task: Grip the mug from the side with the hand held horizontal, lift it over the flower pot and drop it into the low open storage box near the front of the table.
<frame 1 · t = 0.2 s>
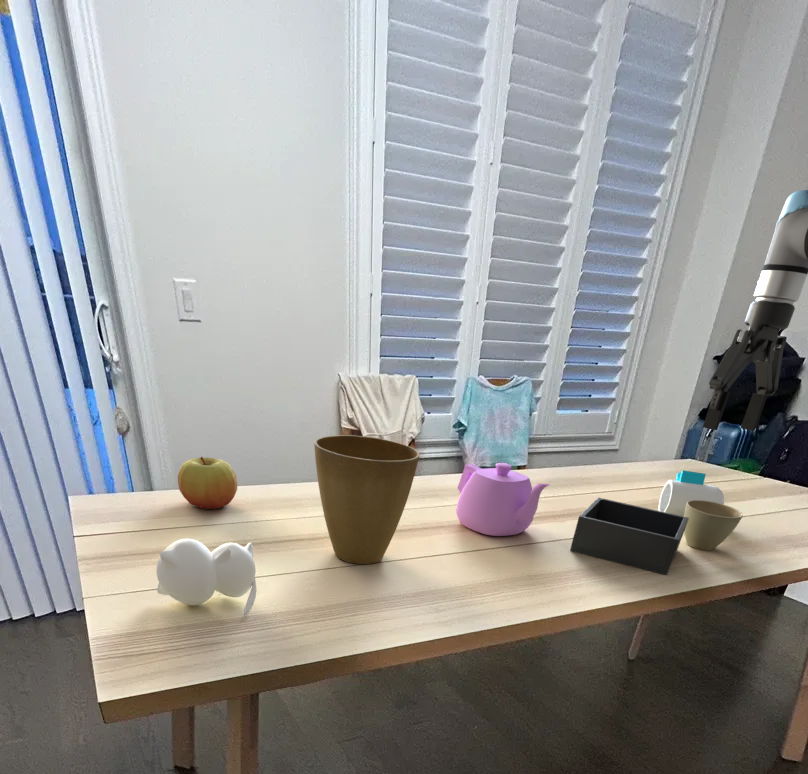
hand: (729, 429, 126), 18 cm above the table, tool pointing down, fingers open, 13 cm apart
teapot: (494, 529, 117), on the table
mug: (684, 516, 138), on the table
apple: (209, 506, 110), on the table
flower pot: (699, 546, 121), on the table
cat figurine: (212, 604, 80), on the table
open storage box: (625, 550, 114), on the table
plant pot: (360, 556, 98), on the table
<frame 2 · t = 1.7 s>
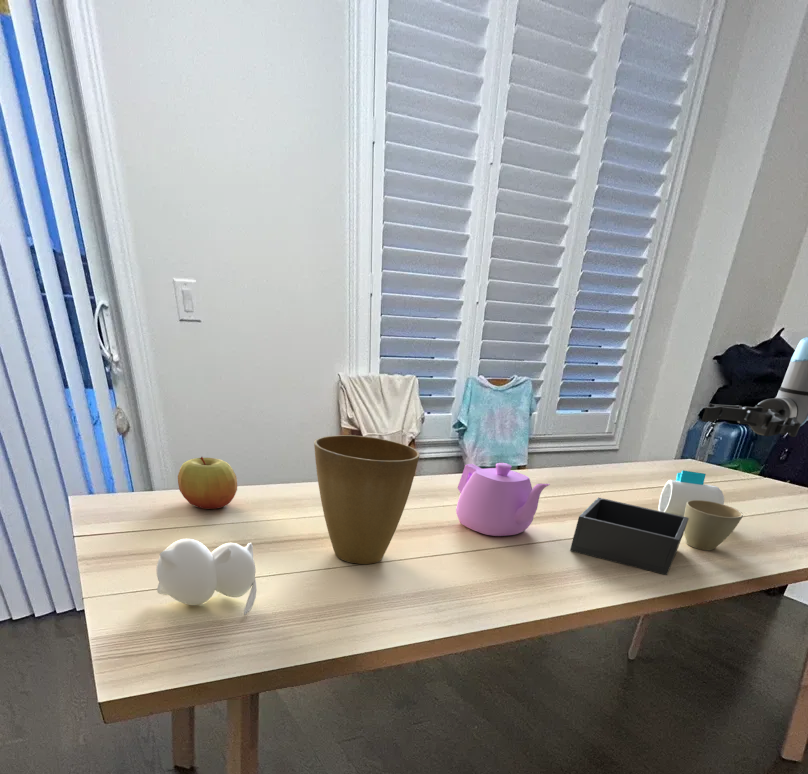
hand: (735, 421, 133), 19 cm above the table, tool horizontal, fingers open, 13 cm apart
nothing on the table moved.
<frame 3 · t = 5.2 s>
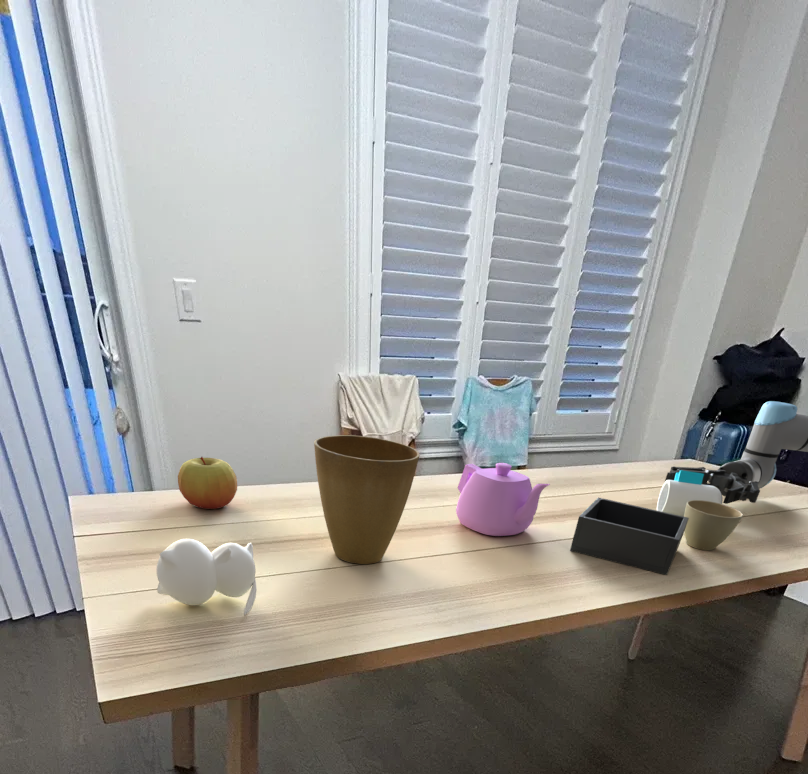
hand: (696, 487, 134), 6 cm above the table, tool horizontal, fingers open, 13 cm apart
mug: (683, 516, 137), on the table, touching gripper
everything else where it was.
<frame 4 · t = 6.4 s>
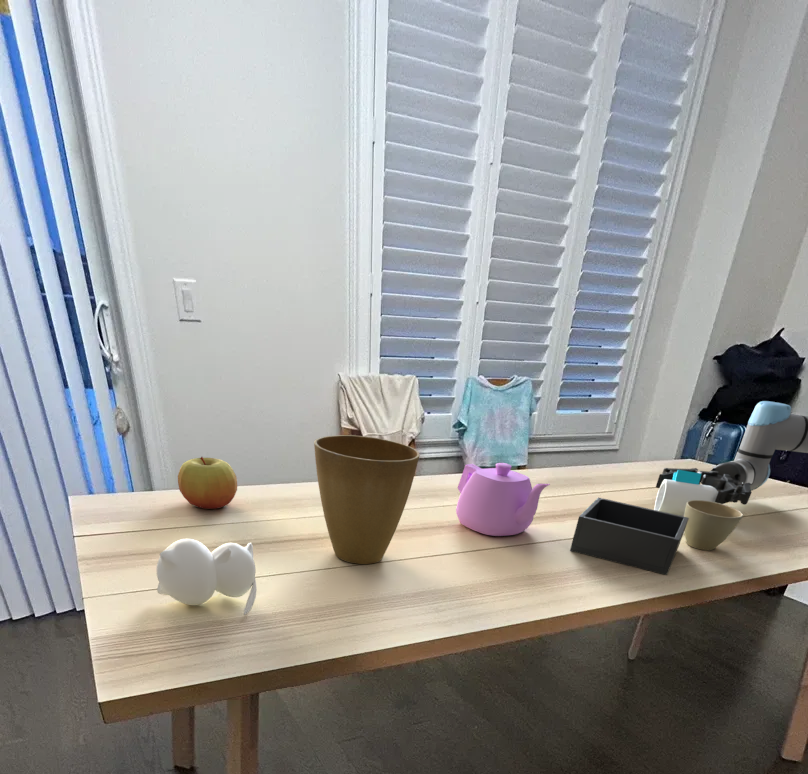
hand: (687, 489, 132), 6 cm above the table, tool horizontal, fingers closed on mug, 12 cm apart
mug: (681, 516, 137), on the table, touching gripper
everything else where it was.
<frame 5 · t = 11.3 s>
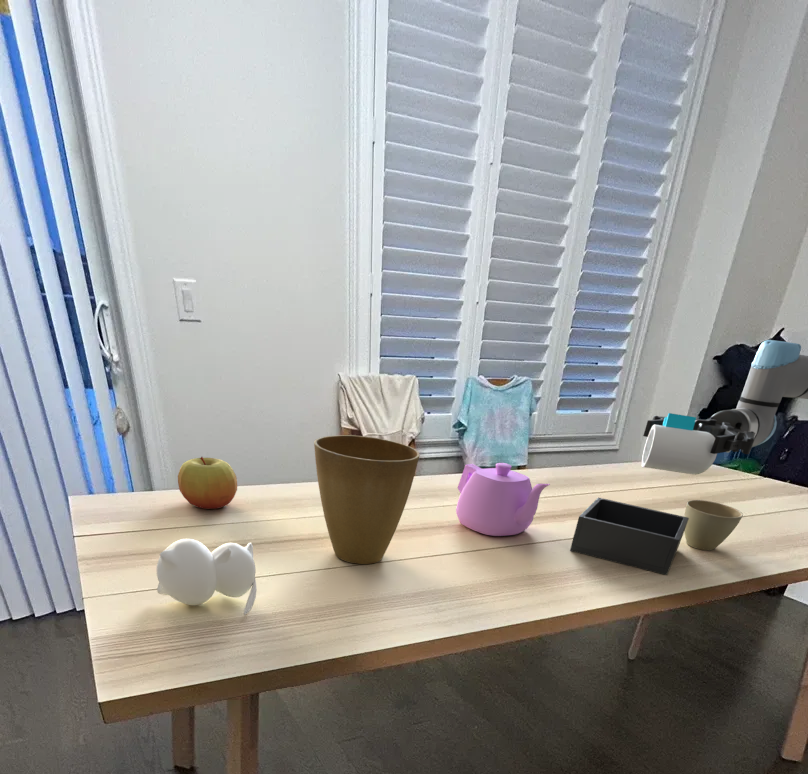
hand: (680, 436, 113), 18 cm above the table, tool horizontal, fingers closed on mug, 12 cm apart
mug: (672, 470, 118), point 12 cm above the table, touching gripper
everything else where it was.
when the fingers open (10 cm above the table, at t = 16.3 s): mug drops 2 cm, resting on open storage box.
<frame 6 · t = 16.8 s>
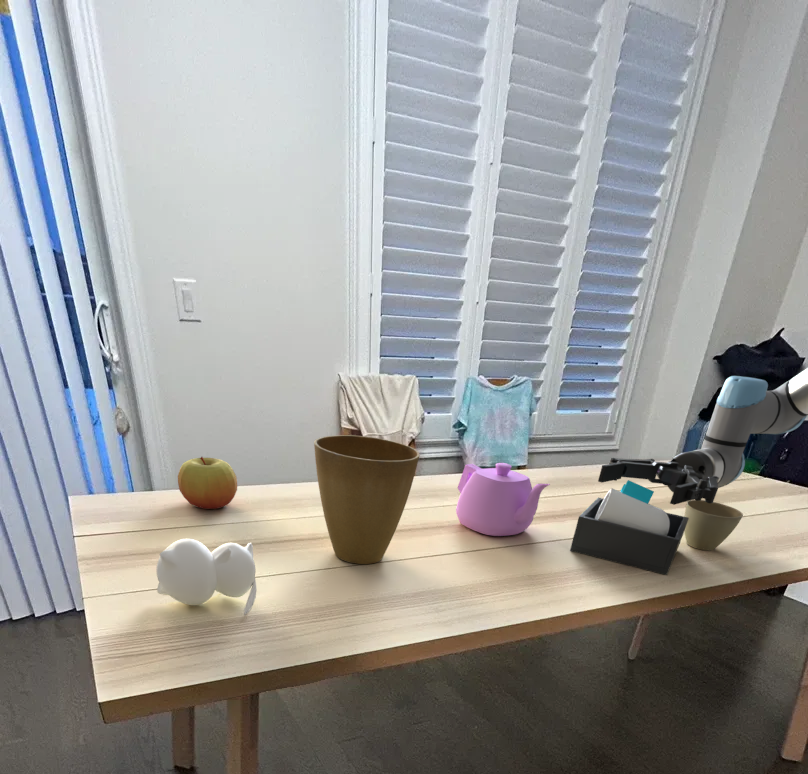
hand: (636, 484, 105), 12 cm above the table, tool horizontal, fingers open, 13 cm apart
mug: (621, 540, 112), point 2 cm above the table, touching open storage box
everything else where it was.
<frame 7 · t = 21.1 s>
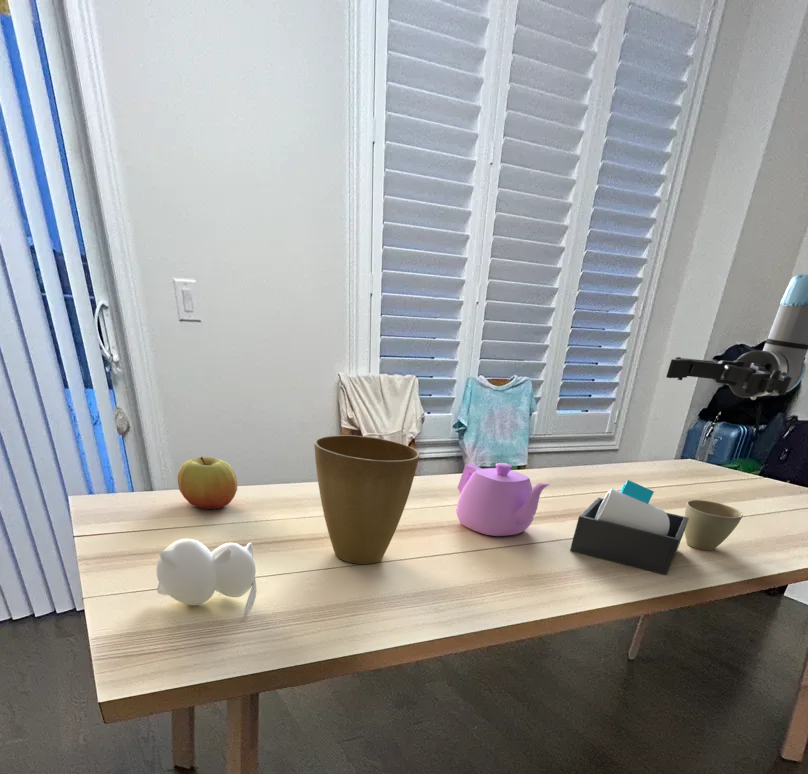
hand: (709, 375, 104), 28 cm above the table, tool horizontal, fingers open, 13 cm apart
nothing on the table moved.
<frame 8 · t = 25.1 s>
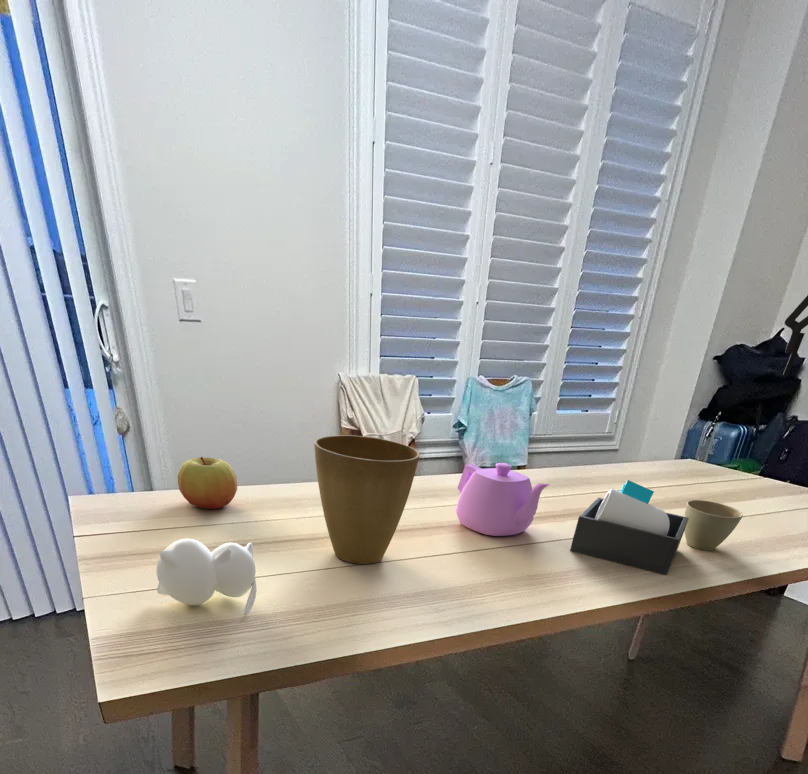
nothing on the table moved.
at the end: mug inside the target area in the open storage box (1.5 cm from its centre), point 1.8 cm above the open storage box's base; the gripper is holding nothing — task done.
